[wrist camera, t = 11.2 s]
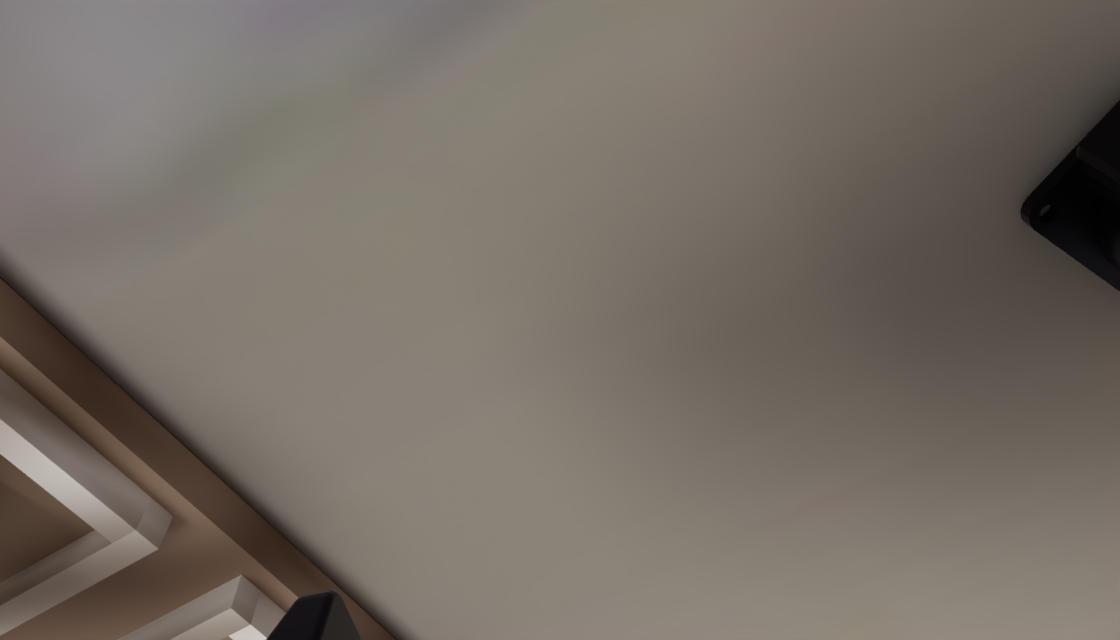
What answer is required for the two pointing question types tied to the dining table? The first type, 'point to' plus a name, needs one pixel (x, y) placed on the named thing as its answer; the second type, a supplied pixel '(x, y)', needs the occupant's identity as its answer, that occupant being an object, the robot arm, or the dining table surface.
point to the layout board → (123, 514)
